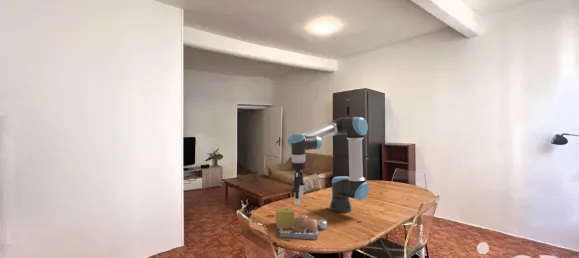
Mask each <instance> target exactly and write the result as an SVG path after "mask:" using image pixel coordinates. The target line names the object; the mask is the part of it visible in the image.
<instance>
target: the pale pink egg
mask: <svg viewBox="0 0 579 258" xmlns="http://www.w3.org/2000/svg"><path fill="white" fill-rule="evenodd" d="M307 232H312V233H316V232H317V219H316V218H309V219H308V227H307Z"/></svg>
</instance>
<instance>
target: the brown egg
mask: <svg viewBox="0 0 579 258" xmlns="http://www.w3.org/2000/svg"><path fill="white" fill-rule="evenodd" d="M308 217H309V216H308V215H307V214H300V215H299V216H298V218H303V229H308V220H309V219H308Z"/></svg>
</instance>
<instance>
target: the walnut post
mask: <svg viewBox="0 0 579 258" xmlns="http://www.w3.org/2000/svg"><path fill="white" fill-rule="evenodd" d="M295 232H297V233H303V232H304V228H303V218H299V217H295V220H294V233H295Z"/></svg>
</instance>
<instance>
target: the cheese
mask: <svg viewBox="0 0 579 258" xmlns="http://www.w3.org/2000/svg"><path fill="white" fill-rule="evenodd" d="M295 218H296V217H295V212H294V210H293V207H292V206H281V207H280V208H276V211H275V224H276V229H277V230H280V229H281V227H283V230H284V229H285V230H286V229H293V228H294V220H295Z"/></svg>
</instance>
